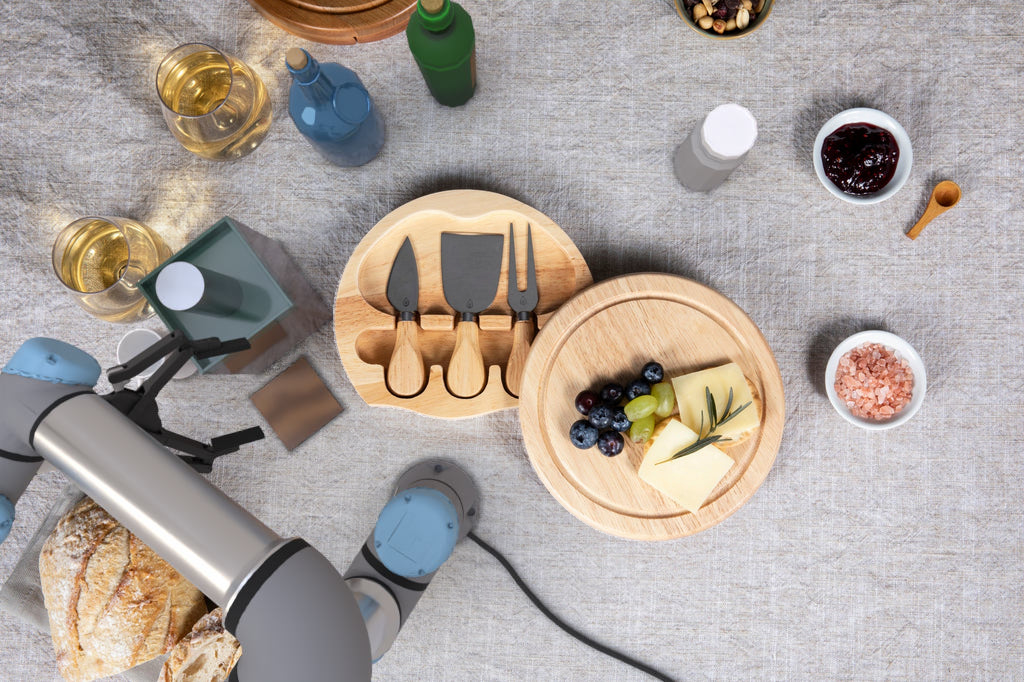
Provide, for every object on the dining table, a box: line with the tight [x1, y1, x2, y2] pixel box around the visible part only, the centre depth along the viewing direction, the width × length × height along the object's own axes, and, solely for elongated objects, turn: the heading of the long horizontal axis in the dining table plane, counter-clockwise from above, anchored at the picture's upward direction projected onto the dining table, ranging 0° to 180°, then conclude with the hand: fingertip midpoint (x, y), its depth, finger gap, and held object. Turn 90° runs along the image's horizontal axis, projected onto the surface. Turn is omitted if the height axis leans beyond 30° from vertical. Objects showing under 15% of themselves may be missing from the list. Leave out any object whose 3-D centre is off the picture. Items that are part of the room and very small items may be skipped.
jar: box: [673, 102, 759, 192], centre depth 110 cm, size 10×10×18 cm
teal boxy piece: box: [134, 215, 334, 376], centre depth 109 cm, size 17×17×21 cm
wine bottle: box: [284, 47, 386, 168], centre depth 106 cm, size 14×13×30 cm
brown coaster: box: [249, 356, 345, 452], centre depth 118 cm, size 12×12×1 cm
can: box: [156, 262, 242, 318], centre depth 95 cm, size 7×7×12 cm
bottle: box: [405, 0, 478, 108], centre depth 107 cm, size 11×11×28 cm
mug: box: [116, 327, 198, 393], centre depth 113 cm, size 12×8×12 cm
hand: (255, 388), depth 91 cm, fingers open, 13 cm apart
